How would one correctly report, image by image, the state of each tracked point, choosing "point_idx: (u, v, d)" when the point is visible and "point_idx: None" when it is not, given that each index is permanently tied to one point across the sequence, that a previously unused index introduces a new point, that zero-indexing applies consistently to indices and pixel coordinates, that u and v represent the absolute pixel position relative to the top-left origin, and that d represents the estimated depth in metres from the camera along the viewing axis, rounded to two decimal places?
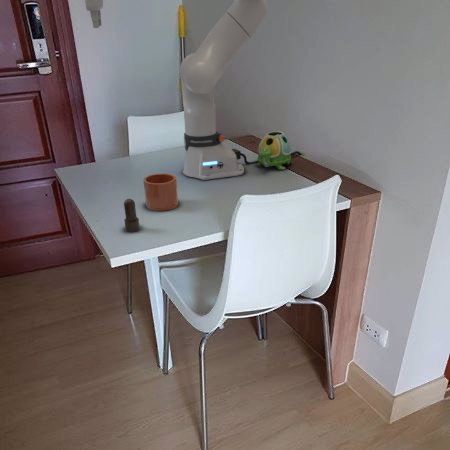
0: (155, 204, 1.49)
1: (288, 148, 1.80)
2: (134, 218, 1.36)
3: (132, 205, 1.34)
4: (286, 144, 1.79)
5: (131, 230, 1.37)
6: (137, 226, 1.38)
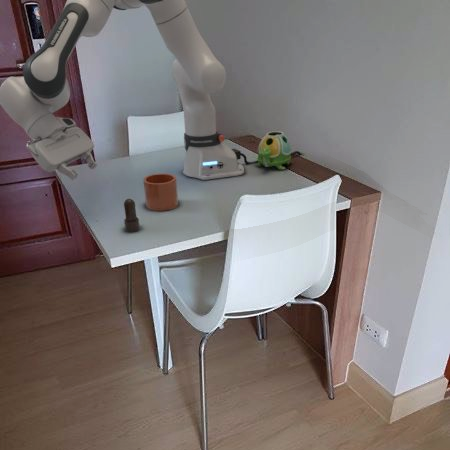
0: (155, 204, 1.49)
1: (288, 148, 1.80)
2: (134, 218, 1.36)
3: (132, 205, 1.34)
4: (286, 144, 1.79)
5: (131, 230, 1.37)
6: (137, 226, 1.38)
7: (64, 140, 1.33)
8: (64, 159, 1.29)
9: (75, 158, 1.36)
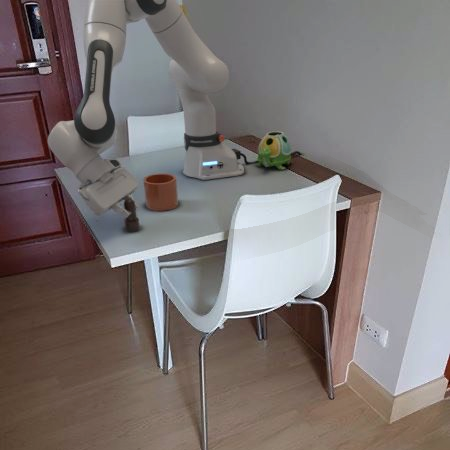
0: (155, 204, 1.49)
1: (288, 148, 1.80)
2: (134, 218, 1.36)
3: (132, 205, 1.34)
4: (286, 144, 1.79)
5: (131, 230, 1.37)
6: (137, 226, 1.38)
7: (112, 182, 1.34)
8: (114, 202, 1.31)
9: (122, 198, 1.38)
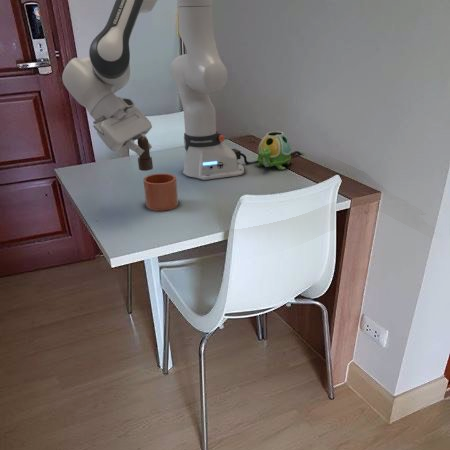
0: (155, 204, 1.49)
1: (288, 148, 1.80)
2: (147, 156, 1.38)
3: (146, 142, 1.35)
4: (286, 144, 1.79)
5: (144, 169, 1.38)
6: (150, 165, 1.39)
7: (126, 120, 1.36)
8: (128, 138, 1.32)
9: (135, 138, 1.39)
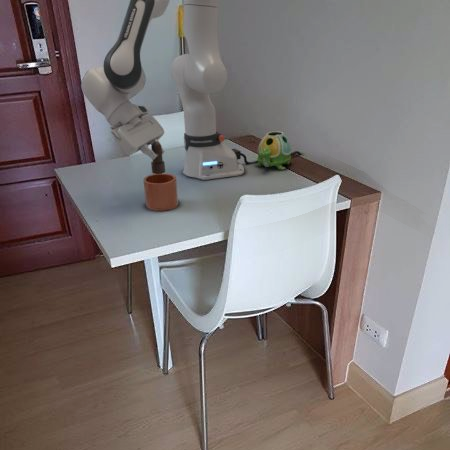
0: (155, 204, 1.49)
1: (288, 148, 1.80)
2: (160, 160, 1.46)
3: (159, 147, 1.44)
4: (286, 144, 1.79)
5: (157, 172, 1.47)
6: (163, 168, 1.47)
7: (140, 126, 1.44)
8: (142, 143, 1.40)
9: (149, 143, 1.48)
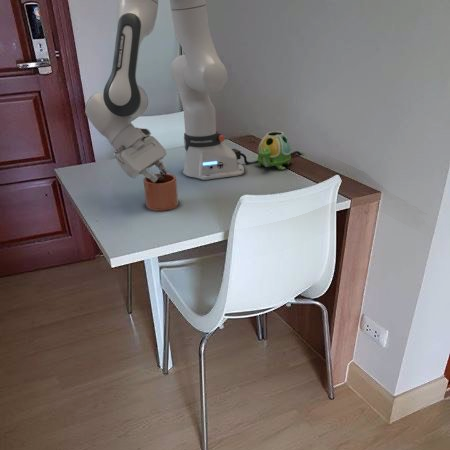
0: (155, 204, 1.49)
1: (288, 148, 1.80)
2: None
3: (162, 180, 1.49)
4: (286, 144, 1.79)
5: None
6: None
7: (143, 148, 1.48)
8: (145, 166, 1.44)
9: (151, 164, 1.51)
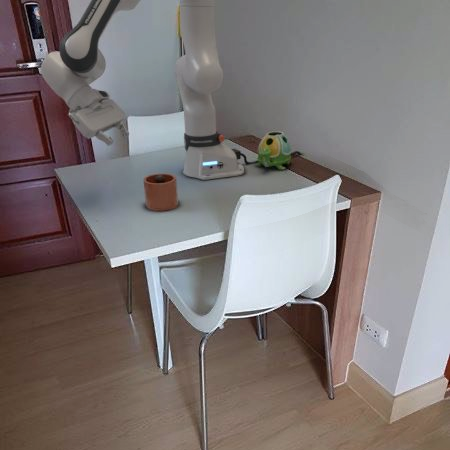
0: (155, 204, 1.49)
1: (288, 148, 1.80)
2: None
3: (163, 179, 1.49)
4: (286, 144, 1.79)
5: None
6: None
7: (100, 110, 1.46)
8: (101, 126, 1.42)
9: (110, 127, 1.49)
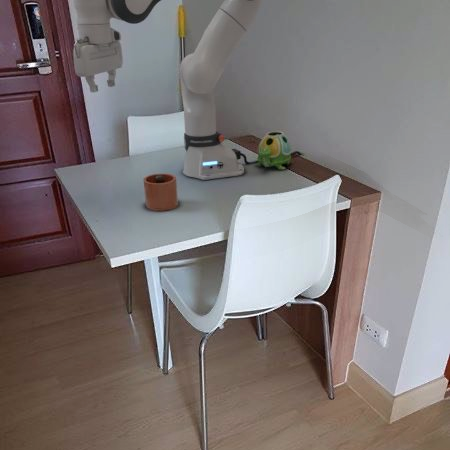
0: (155, 204, 1.49)
1: (288, 148, 1.80)
2: None
3: (163, 179, 1.49)
4: (286, 144, 1.79)
5: None
6: None
7: (104, 51, 1.38)
8: (96, 73, 1.36)
9: None
